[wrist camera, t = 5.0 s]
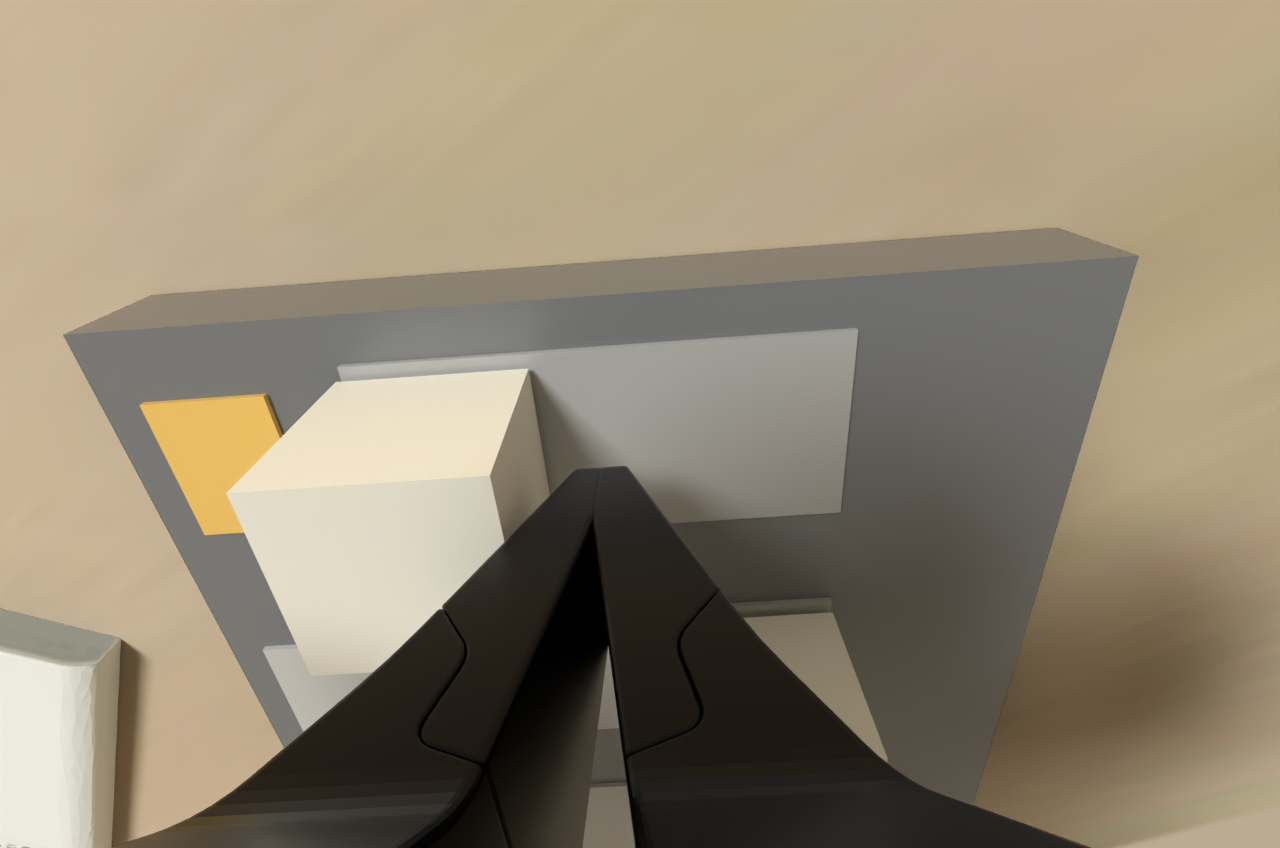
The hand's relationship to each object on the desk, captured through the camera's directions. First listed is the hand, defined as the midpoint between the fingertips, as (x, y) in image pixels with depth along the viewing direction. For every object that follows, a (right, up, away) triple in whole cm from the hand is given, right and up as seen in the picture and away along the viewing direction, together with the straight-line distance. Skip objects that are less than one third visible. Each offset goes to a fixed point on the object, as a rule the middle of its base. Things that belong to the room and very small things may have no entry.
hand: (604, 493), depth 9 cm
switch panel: (0, -3, +6) cm, 7 cm away
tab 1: (-3, 0, +1) cm, 3 cm away
